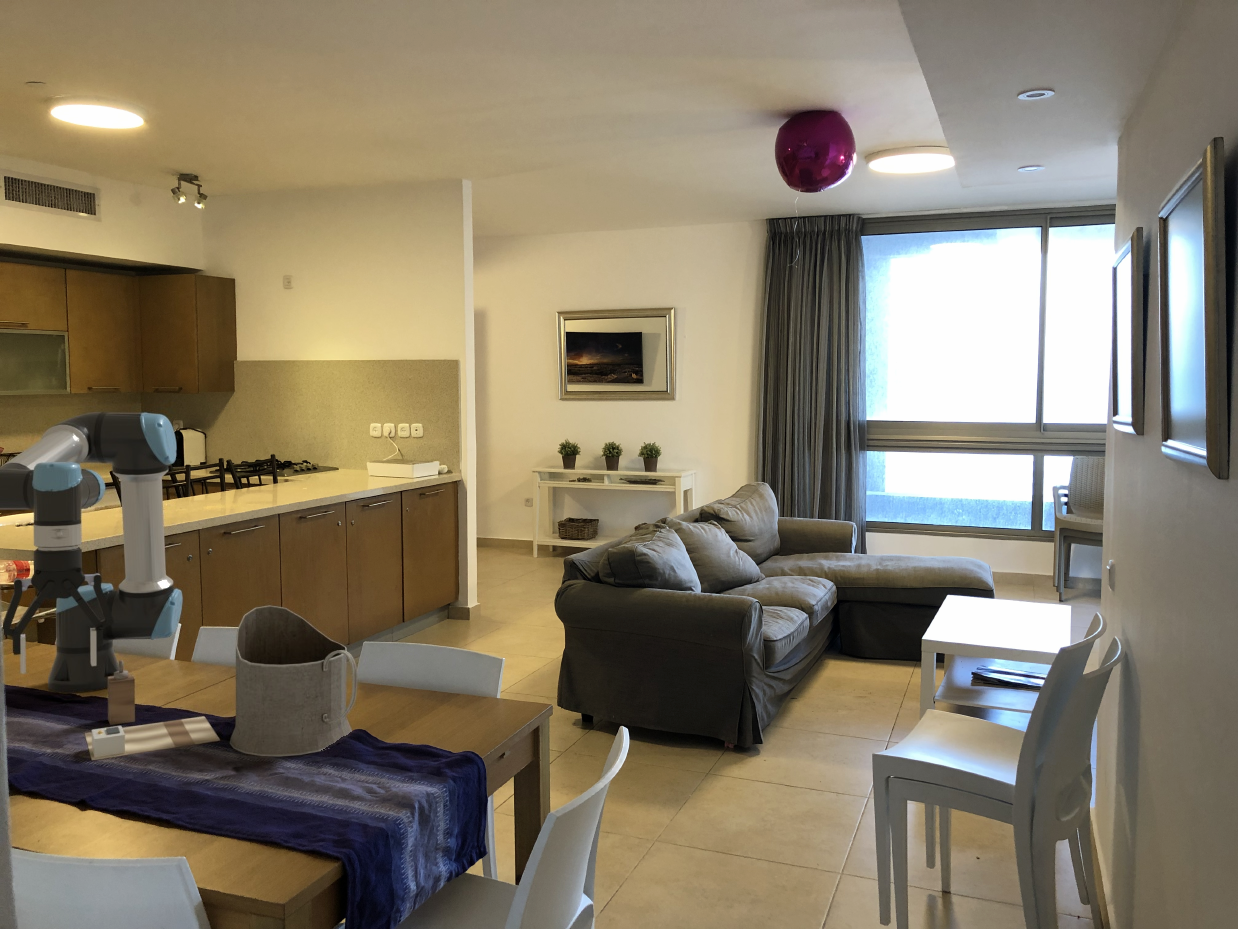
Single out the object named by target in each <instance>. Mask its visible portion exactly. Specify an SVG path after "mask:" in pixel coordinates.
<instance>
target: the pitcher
mask: <svg viewBox="0 0 1238 929" xmlns="http://www.w3.org/2000/svg"><path fill="white" fill-rule="evenodd" d="M235 641H236V642H235V727H234V729H233V731H232V734H231V737H230V739H229V740H230V741H229V745H230V746H231V747H232V748H233V749H234V750H236V751H237V752H241V753H243V754H246V755H247V754H248V755H253V756H259V757H289V756H301V755H306V754H312V753H319V752H322V751H324V750H323V749H325V748H326V747H328V746H329V745H331V744H333V743H335V742H336V741H337V740H339V739H340V738H341V737H343V736H346V735H348V734H349V733H350V732H352V727H351V725H350V722H349V720H348V718H347V715H348V714H349V713H350V711H351V710H352V708H353V707H354V705H355V702H356V699H357V692H358V668H357V664H356V661H355V658H354V657H353V655H352V654H351V653H350V652H348V651H347V647H346V646H345V645H343V644H341V643H339V642H337V641H335V640H332V639H330V638H329V637H328V636H326V635H325V634H324V633H322V632H321V631H319V630H318V629H317V628H315V626H313V625H312V624H311V623H310V622H308V621H307V620H306V619H304V618H303V617H302V616H300V615H299V614H297V613H295V612H293V611H292V610H290V609H288V608H286V607H282V606H275V605H265V606H259V607H254V608H253V609H251V610H250V611H248V612H247V613H245V614H243V616H242V618H241V621H240V623H239V624H238V627H237V629H236V640H235ZM347 660H348V662H349V664H350V669H351V674H352V675H351V676H352V680H351V681H352V682H351V683H352V684H351V696H350V701H349V702H348V705H347V664H348V663H347ZM321 750H322V751H321ZM325 750H326V749H325Z"/></svg>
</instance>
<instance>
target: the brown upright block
mask: <svg viewBox="0 0 1238 929" xmlns="http://www.w3.org/2000/svg"><path fill="white" fill-rule="evenodd" d="M118 664H119V671H117V672H114V676H111V677H108V688H107V720H108V722H109V725H110V726H113V725H120V724H127V723H128V724H129V723H135V721H136V714H135V713H136V712H135V711H136V709H135V708H136V695H135V694H136V693H135V692H136V691H135V688H136V683H135V677H134V675H133V674H132V673H129V671H128V670H124V659H121V660H118Z"/></svg>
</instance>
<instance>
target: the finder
mask: <svg viewBox="0 0 1238 929" xmlns="http://www.w3.org/2000/svg"><path fill="white" fill-rule="evenodd" d="M122 728H123V727H122V725H117V726H110V727H102V728H94V729H91V732H92V751H93V754H94V758H97V757H104V756H110V755H117V754H123V753H125V734H124V731H123V729H122Z"/></svg>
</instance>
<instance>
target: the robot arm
mask: <svg viewBox="0 0 1238 929" xmlns="http://www.w3.org/2000/svg"><path fill="white" fill-rule="evenodd" d="M177 450H178V449H177V439H176V434H175V431H174V428H173V425H172V423H171V421H170V420H169V418H168V417H167V416H166V415H164V414H160V413H151V412H150V413H148V412H104V411H99V412H97V411H96V412H95V411H94V412H88V413H84V414H79V415H76V416H73V417H70V418H67V419H65V420H62V421H60V422H58V423H56V424H54V425H53V426H51V427H49V428H48V429H47V430H45V431H44V432H43V434H42V436H41V439H40V440H39V441H37V442H36V443H34V444H32V445H30V447H28V448H27V449H25V450H23V451H22V452H20V453H19V454H18V455H16V456H14V457H13V458H11V459H9V460H8V461H7V462H5V463H4V464H2V465H1V466H0V510H33V546H34V547H35V548H36V549H35V550H34V551H33V574H32V576H31V577H29V578H20V577H16V578H14V579H13V594H12V597H11V598H10V601H9V605H8V607H7V611H6V613H5V616H4V618H3V621H2V623H3V629H4V635H3V636H10V637H11V638H12V653H13V655H14V656H17V655H18V656H19V658H20V659H19V660H20V669H19V670H20V675H21V674H23V675H24V674H27V669H26V668H27V667H26V666H27V665H26V664H27V658H26V657H27V655H26V654H27V653H26V652H27V650H26V647H27V646H26V644H27V643H26V633H24V634H23V632H24V630H25V629H26V627H27V626H28V625H29V623H30V622H31V620H32V619H33V618H34V617H35V614H36V613H37V611H38V610H39V608H40V607H41V605H43V603H44V602H45V600H46V599H47V600H48V601H50V600H51V601H52V600H56V605H55V606H56V609H55V611H54V613H55V631H56V632H55V634H56V635H55V637H56V638H55V641H56V644H55V645H56V654H55V658H54V661H53V663H52V665H51V669H50V672H49V675H48V677H47V688H48V690H50V691H52V692H56V693H57V692H58V693H65V694H66V693H69V694H70V693H71V694H73V693H86V692H94V691H99V690H103V689H108V677H111V676H114V672H117V671H119V661H118V660H117V657H116V654H115V652H114V641H116V640H117V641H120V640H123V641H124V640H128V641H129V640H151V641H153V640H159V639H168V638H171V637H172V636H173V635H174V634H175V632H176V631H177V628H178V625H179V622H180V620H181V619H180V618H181V615H182V614H181V613H182V607H183V593H182V590H181V589H179V588H174V580H173V579H172V578H171V577H170V576H168V575H167V574H166V573H167V572H166V570H167V569H166V549H165V548H166V547H165V527H164V526H165V523H164V520H165V519H164V503H163V502H164V501H163V498H164V497H163V481H162V479H163V477H164V476H165V475H166V474H167V473H168V472H169V466H170V465H172V464H174V463H175V461H176V459H177V458H176V457H177ZM89 463H91V464H111V465H112V468H111V469H112V474H113V475H115V476H116V477H118V479H119V480H120V496H121V498H120V499H121V511H122V513H121V514H122V515H121V516H122V531H123V552H124V571H125V578H124V579H123V580H122V582H120V583H119V584H118V589H117V590H115V589H114V587H113V586H114V585H113V584H112V583H110V582H108V583H105V582H102V576H101V574H100V573H98V572H95V573H93V574H85V573H84V572H83V561H82V560H83V556H82V555H83V554H82V548H81V547H79V546H80V545H81V544H82V542H83V539H82V536H83V535H82V534H83V533H82V510H86V509H88V508H91V507H94V505H96V504H98V503H99V502H100V501H101V500H102V499H103V498H104V495H105V492H106V483H105V481H104V479H103V477H102V476H101V475H100V474H99V473H97V472H96V471H94V470H92V469H86V468H81V465H80V464H89ZM84 582H87V583H88V584H87V585H83V584H84ZM30 585H32V586H33V588H34V589H35V590H36V591H37V594H36V595H35V596H34V598H33V600H32V601H31V603H30V605H29V606H28V607H27V609H26V610H25V612H24V613H23V615H22V616H21V618H20V619H19V621H18V622H17V623H16V625H15V626H14V627H12V623H13V621H14V618H15V616H16V614H17V610H18V607H19V604H20V601H21V598H22V596H23V592H25V591H27V590H28V587H29V586H30Z"/></svg>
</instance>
